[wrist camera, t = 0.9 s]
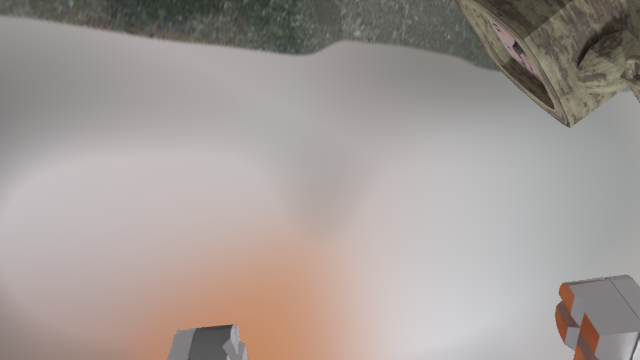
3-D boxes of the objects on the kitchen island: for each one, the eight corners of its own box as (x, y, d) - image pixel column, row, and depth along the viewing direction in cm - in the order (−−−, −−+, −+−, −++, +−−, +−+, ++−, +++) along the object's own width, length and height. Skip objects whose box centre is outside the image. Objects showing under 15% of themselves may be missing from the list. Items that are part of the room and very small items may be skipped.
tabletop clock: (423, -36, 48) (593, 81, 29) (499, -105, 45) (736, -27, 27) (481, 57, 57) (639, 190, 38) (547, 3, 54) (749, 118, 36)
